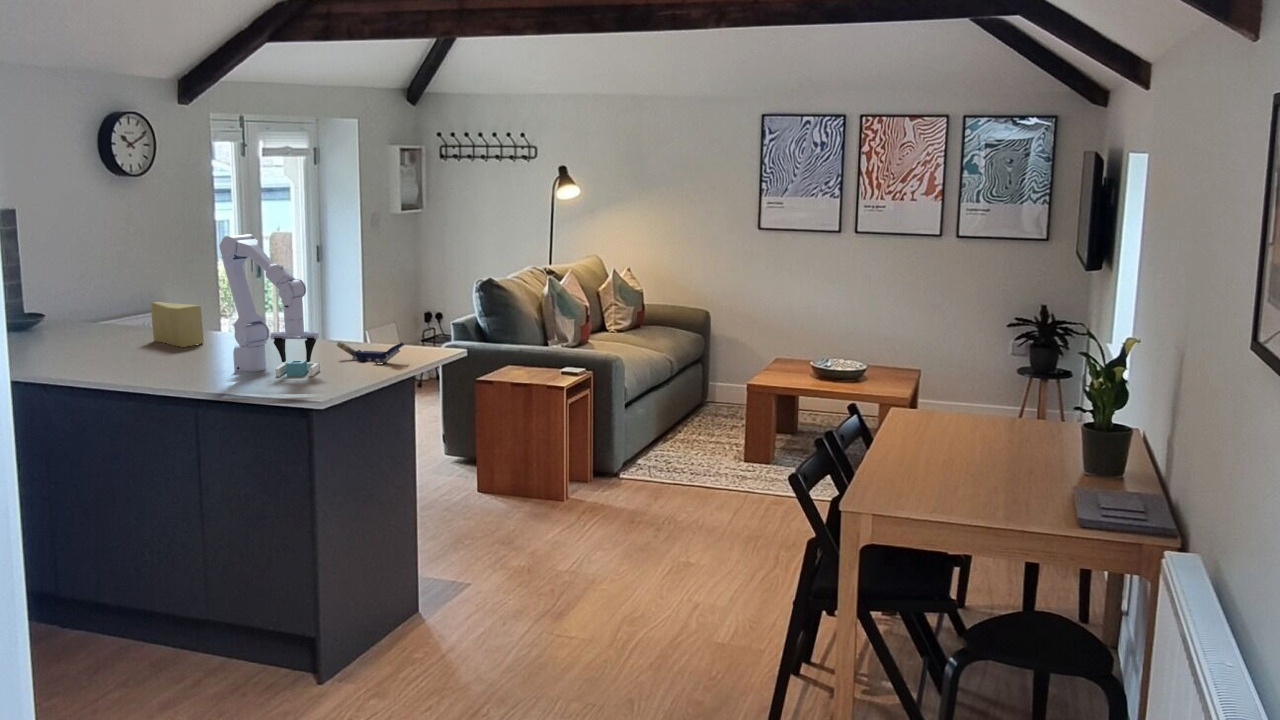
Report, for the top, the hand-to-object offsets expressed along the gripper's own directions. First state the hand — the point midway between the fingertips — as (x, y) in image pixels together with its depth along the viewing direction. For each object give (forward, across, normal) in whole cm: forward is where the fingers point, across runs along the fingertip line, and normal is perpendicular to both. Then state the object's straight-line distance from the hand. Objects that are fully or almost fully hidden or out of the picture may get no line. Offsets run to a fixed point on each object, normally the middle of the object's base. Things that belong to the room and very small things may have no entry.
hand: (296, 361), depth 357 cm
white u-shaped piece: (+4, 0, +1) cm, 4 cm away
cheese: (+6, -62, +64) cm, 90 cm away
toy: (+5, +18, +23) cm, 30 cm away
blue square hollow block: (+4, 0, 0) cm, 4 cm away
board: (+5, +2, +3) cm, 6 cm away
